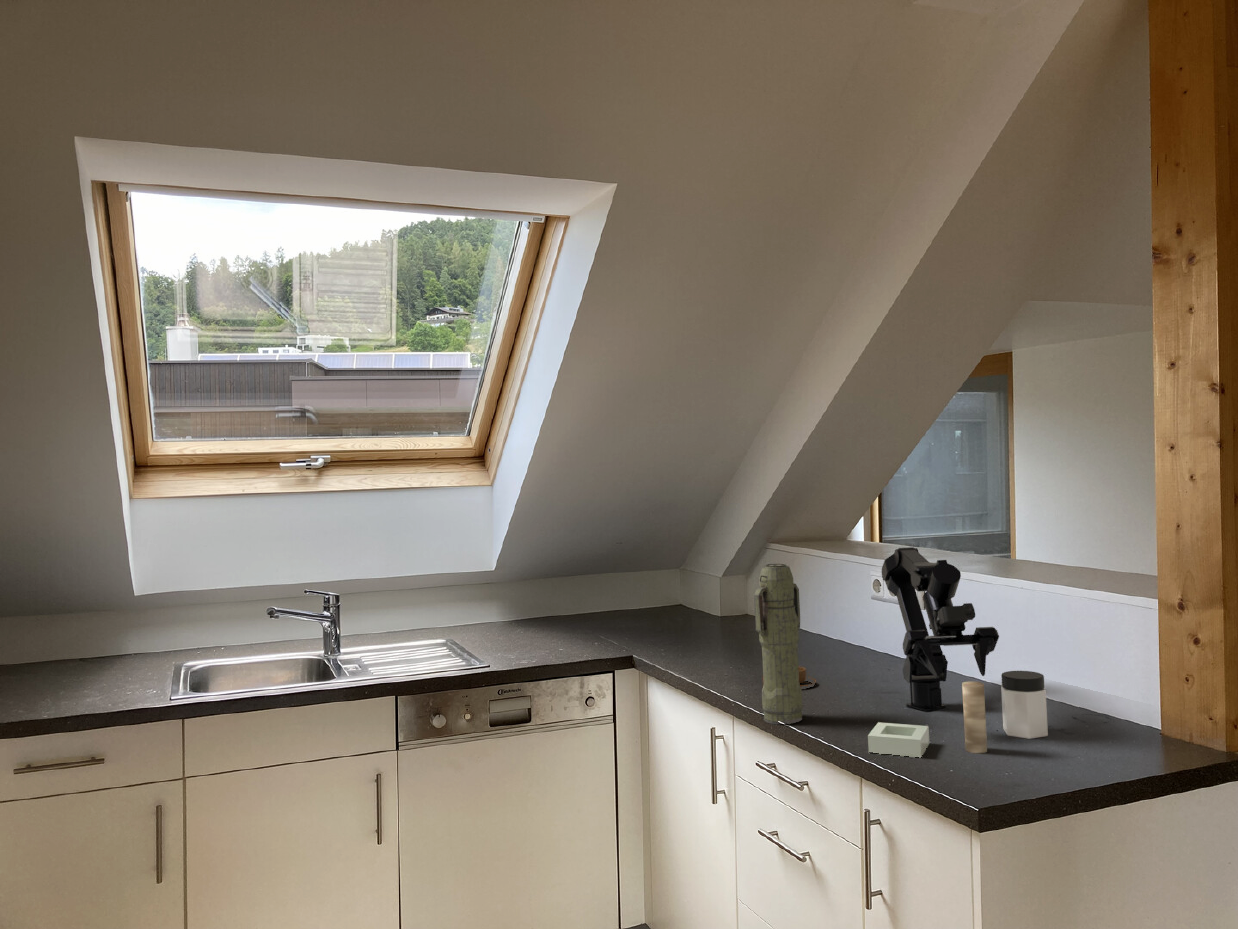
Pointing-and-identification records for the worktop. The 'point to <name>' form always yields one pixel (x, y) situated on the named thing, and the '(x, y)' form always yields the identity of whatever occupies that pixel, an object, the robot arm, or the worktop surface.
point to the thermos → (779, 642)
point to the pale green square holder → (899, 739)
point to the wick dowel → (974, 717)
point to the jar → (1024, 704)
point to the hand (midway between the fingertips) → (960, 675)
